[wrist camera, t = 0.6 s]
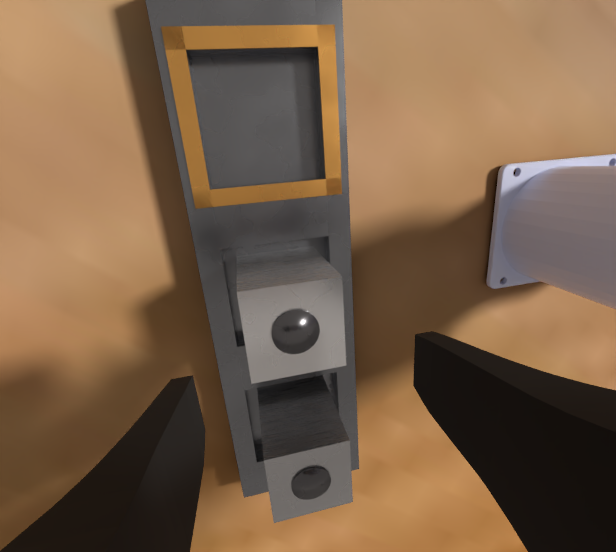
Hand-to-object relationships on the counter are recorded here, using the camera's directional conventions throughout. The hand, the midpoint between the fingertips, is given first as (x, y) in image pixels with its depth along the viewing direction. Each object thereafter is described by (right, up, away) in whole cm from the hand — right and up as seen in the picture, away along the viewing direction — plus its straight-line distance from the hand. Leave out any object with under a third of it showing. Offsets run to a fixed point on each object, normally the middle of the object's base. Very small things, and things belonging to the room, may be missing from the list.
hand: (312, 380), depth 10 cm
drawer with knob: (-2, +3, +8) cm, 9 cm away
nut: (-1, -5, +11) cm, 12 cm away
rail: (-2, +3, +9) cm, 10 cm away
